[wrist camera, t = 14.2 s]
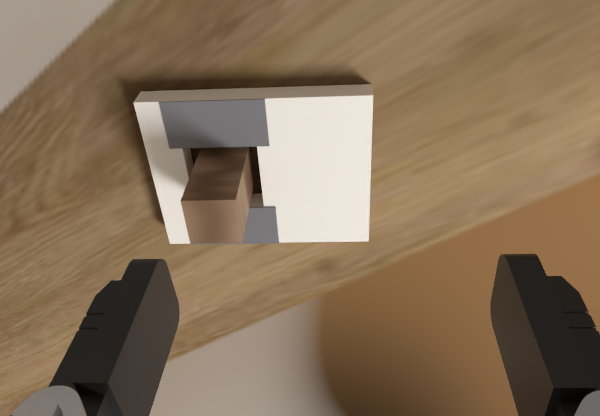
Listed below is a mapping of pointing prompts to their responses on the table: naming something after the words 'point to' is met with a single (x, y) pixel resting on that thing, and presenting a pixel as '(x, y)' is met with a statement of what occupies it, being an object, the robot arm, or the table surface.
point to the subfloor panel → (270, 155)
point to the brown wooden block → (218, 195)
